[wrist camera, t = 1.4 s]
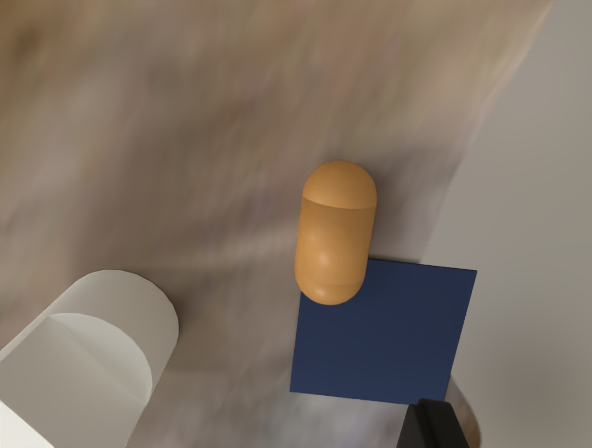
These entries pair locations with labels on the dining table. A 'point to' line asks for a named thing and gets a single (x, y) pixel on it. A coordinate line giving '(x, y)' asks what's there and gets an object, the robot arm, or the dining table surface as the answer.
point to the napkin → (384, 335)
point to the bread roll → (335, 232)
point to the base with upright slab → (86, 364)
